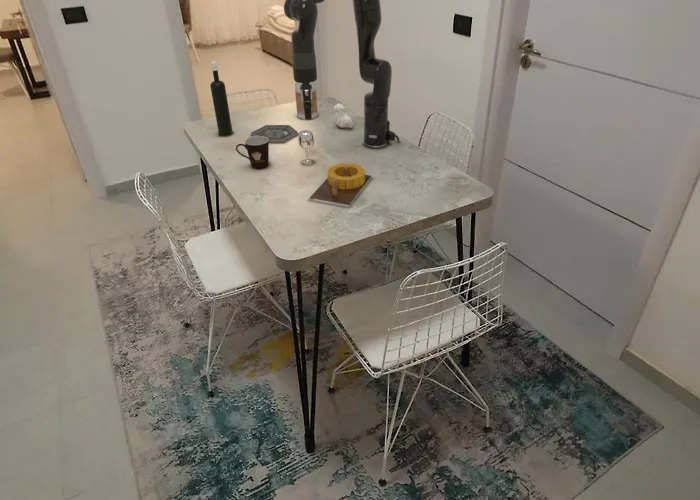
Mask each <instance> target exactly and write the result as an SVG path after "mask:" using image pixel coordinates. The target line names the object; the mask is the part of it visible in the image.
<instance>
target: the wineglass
mask: <svg viewBox="0 0 700 500" xmlns="http://www.w3.org/2000/svg"><path fill="white" fill-rule="evenodd" d="M297 141H298V142H297V143H298V146H299V148H300V149H303V150H305V154H306V159H305V160H303V161H302V162H301V164H304V163H308V162H312V160H311V159H309V150H310V149H312V148H313V147H314V145H315V139H314V134H313V132H312V131H311V130H308V129H304V130H300V131H299V132H298V138H297Z"/></svg>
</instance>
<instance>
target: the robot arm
mask: <svg viewBox="0 0 700 500" xmlns="http://www.w3.org/2000/svg"><path fill="white" fill-rule="evenodd" d="M325 1H326V0H285V1H284V4H283V12H284V15H285V17H286V18H288V19H289V20H291V21H295V22H298V28H297V29H294V30H293V31H292V32H291V36H290V38H291V51H292V53H291V54H292V55H291V61H292V62H291V63H292V73H293V80H294V82H295V83H296V82H298V83H302V85H300V92H301V96H302V102H303V103H304V106H303V107H304V111H305V119H304V120H312V115H311V107H312V105H311V101H312V85H310V84H309V83H310V82H314V81H315V82H316V81H317V79H318V72H317V57H316V56H317V55H316V51H315V32H316V27H317V21H318V15H319V12H318V6H317V4H321V3H324V2H325ZM352 6H353V7H352V8H353V15H354V22H355V27H356V37H357V44H358V45H357V49H358V69H359V76H360V78H361V80H362V81H363V82H365V83H367V84H371V85H373V86H372V87H373V88H372V91H369V92H366V93H365V94H364V97H363V107H364V108H363V125H364V127H363V146H364V147H366V148H369V149H383V148H385V147H387V145H389V144H390V142H393V141H396V140H397V142H398V143H400V141H401V140H400V137H399V136H398V135H397V134H396V132H394V131H391V130H390V126H391V125H390V124H391V123H390V121H389V120H388V117H389V98H390V95H391V87H392V79H393V78H392V75H393V69H392V65H391V63H390V62H389V60H386V59H383V58H377V57H376V52H375V40H376V38H377V34H378V33H379V31H380V28H381V24H382V8H381V0H352Z"/></svg>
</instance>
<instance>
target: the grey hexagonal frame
mask: <svg viewBox="0 0 700 500" xmlns="http://www.w3.org/2000/svg"><path fill="white" fill-rule="evenodd" d="M284 131H285V132H286V133H287V134H286V133H285V132H284ZM250 135H251V137H253V136H265V137H267V138H268V139H269V144H282V143H283V144H284V143H286V142H287V141H289V140H291V139H293V138H295V137H296V136H299V132H298V131H297V129H296V130H295V128H294V127H292V126H291V125H290V124H266V125H264V126H261V127H259V128H257V129H256V130H254V131H252V132H250Z"/></svg>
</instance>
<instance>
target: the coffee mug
mask: <svg viewBox="0 0 700 500" xmlns="http://www.w3.org/2000/svg"><path fill="white" fill-rule="evenodd" d="M269 144H270V143H269V139H268V138H267V137H266V136H265V135H262V136H250V137H247V138H245V140H244V143H238V144H237V145H236V146H235V151H236V153H238V154H239V155H240V156H241V157H244V158H246V159H247V160H249V162H250V166H251V168H252V169H254V170H264V169H266V168H268V167H269V162H270V161H269V159H270V158H269V151H270V149H269ZM240 146H242V147H244V148H245V150H246V151H247V155H248V156H247V155H245V154H243V153H242V152H240V151H239V150H238V147H240Z"/></svg>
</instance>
